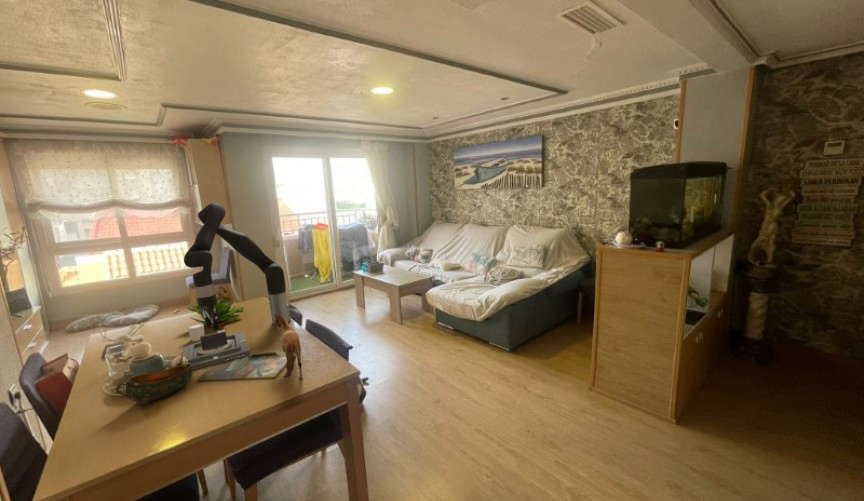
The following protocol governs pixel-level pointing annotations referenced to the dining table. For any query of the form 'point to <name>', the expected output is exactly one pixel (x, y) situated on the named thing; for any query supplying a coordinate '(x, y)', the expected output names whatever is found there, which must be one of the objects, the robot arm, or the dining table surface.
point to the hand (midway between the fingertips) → (212, 327)
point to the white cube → (196, 331)
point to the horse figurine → (289, 344)
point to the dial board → (200, 361)
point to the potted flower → (221, 311)
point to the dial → (214, 343)
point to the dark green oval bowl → (157, 385)
